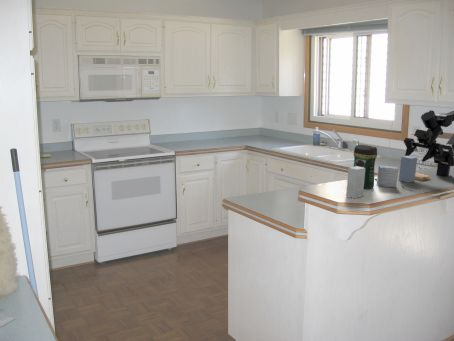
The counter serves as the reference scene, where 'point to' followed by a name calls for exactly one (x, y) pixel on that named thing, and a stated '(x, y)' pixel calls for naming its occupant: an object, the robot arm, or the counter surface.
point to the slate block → (407, 168)
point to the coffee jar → (366, 162)
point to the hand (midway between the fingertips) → (413, 159)
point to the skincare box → (355, 182)
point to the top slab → (421, 177)
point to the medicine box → (387, 176)
